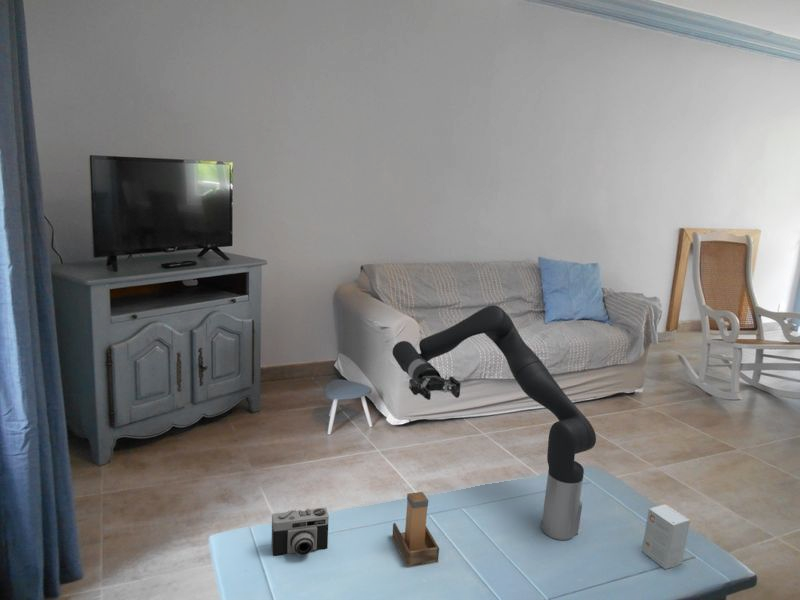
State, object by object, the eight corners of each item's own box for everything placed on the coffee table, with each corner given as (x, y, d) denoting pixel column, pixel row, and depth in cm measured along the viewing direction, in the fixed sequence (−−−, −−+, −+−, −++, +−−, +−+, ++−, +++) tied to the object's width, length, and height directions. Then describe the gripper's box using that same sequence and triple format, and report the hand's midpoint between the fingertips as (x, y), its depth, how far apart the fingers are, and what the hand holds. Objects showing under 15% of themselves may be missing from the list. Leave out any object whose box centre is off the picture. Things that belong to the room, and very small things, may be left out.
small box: (682, 564, 158) (691, 520, 155) (665, 570, 155) (673, 525, 152) (657, 545, 165) (665, 503, 162) (640, 551, 162) (648, 508, 159)
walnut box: (421, 532, 164) (422, 519, 163) (438, 562, 153) (439, 548, 152) (392, 536, 162) (393, 523, 161) (407, 567, 150) (408, 553, 149)
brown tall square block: (418, 539, 160) (422, 491, 157) (424, 548, 156) (428, 500, 153) (403, 541, 159) (407, 493, 155) (409, 551, 155) (412, 502, 151)
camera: (274, 566, 147) (274, 530, 145) (270, 545, 155) (271, 511, 153) (330, 558, 152) (332, 523, 149) (324, 538, 159) (326, 504, 157)
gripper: (402, 364, 180) (420, 384, 165) (446, 361, 184) (468, 381, 169) (400, 387, 181) (418, 410, 166) (444, 384, 186) (466, 406, 171)
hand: (443, 395), depth 168 cm, fingers open, 8 cm apart
